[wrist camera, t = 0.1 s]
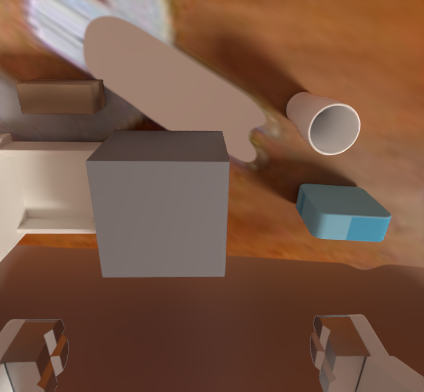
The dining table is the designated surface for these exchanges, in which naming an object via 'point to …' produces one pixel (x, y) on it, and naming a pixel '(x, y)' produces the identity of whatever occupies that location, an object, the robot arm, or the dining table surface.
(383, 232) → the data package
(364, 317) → the robot arm
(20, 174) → the drawer
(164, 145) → the cabinet
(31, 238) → the dining table surface
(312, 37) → the dining table surface
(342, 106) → the drinking glass
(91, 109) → the walnut block
